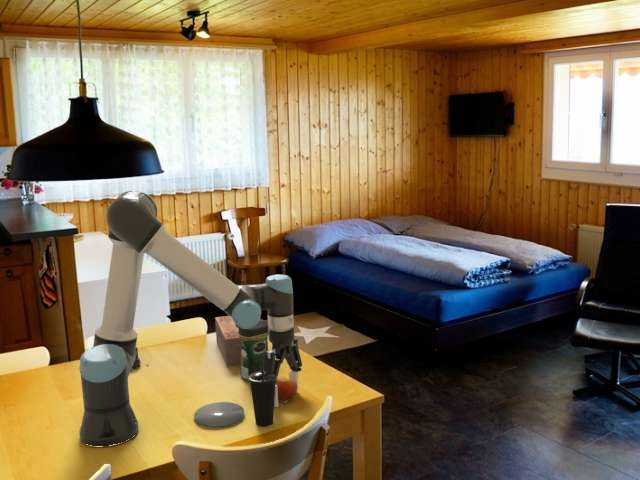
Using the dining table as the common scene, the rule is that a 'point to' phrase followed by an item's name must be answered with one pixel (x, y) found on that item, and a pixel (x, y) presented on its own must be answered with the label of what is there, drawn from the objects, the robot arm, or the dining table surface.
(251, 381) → the drinking cup
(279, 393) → the fruit
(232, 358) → the tissue box cover
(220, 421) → the slate plate
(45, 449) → the dining table surface
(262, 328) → the coffee jar
